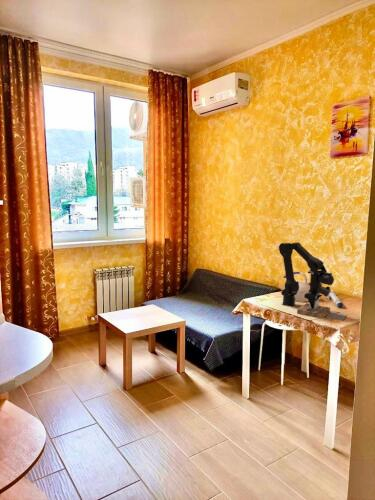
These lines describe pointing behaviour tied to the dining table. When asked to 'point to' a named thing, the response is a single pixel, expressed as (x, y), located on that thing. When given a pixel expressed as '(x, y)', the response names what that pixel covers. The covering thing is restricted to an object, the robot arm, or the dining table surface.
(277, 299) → the dining table surface
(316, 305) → the steel nut block
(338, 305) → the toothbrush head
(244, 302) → the dining table surface
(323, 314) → the walnut rail plate
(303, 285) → the kettle
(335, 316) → the charcoal mat
